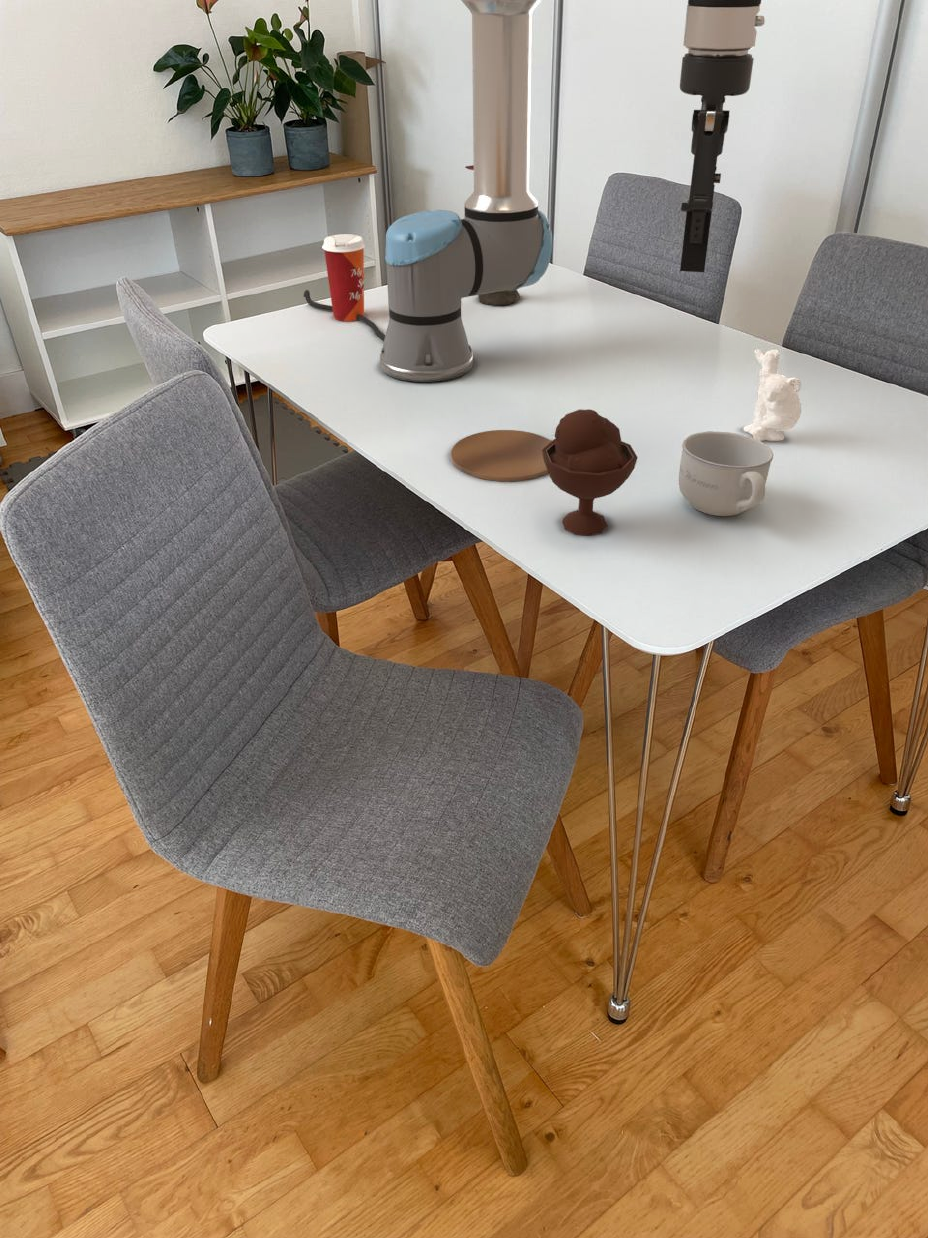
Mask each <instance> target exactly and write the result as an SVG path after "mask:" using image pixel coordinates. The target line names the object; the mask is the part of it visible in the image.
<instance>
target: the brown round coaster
mask: <svg viewBox="0 0 928 1238" xmlns="http://www.w3.org/2000/svg"><path fill="white" fill-rule="evenodd" d="M552 441H553V440H551V439H549V438H547V437H545V436H543V435H540V434H537V433H533V432H529V431H523V430H515V429H495V430H494V429H493V430H487V431H481V432H480V431H479V432H476V433H473V434H471V435H467V436H465V437H463V438H461V439H460V440H458V441H457V442H456V443H455V444H454V445H453V446H452V448H451V451H450V459H451V461H452V464H453V465H454V466H455V467H456V469H458V470H459V471H460V472H463V473H464V474H466V475H468V476H471V477H474V478H478V479H481V480H487V481H494V482H521V481H528V480H532V479H536V478H539V477H542V476H544V475H546V474H549V473H548V470H547V468H546V465H545V463H544V459H543V453H542V449H543V448H545V447H546V446H547V445H548V444H549V443H550V442H552Z"/></svg>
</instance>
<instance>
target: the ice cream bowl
mask: <svg viewBox="0 0 928 1238" xmlns="http://www.w3.org/2000/svg"><path fill="white" fill-rule="evenodd" d="M551 441H552V442H550V443H549V444H548V445H547V446H546V447H545V448H543V449H542V453H543V459H544V463H545V465H546V468H547V470H548V473H547V474H549V477H550V480H551V482H552V483H553V485H554V486H556V487H557V488H558V489H559V490H561V491H562V492H564V493H565V494H568V495H570V496H573V497H574V498H577V499H578V509H576V510H574V511H571V512H568V513H567V514H566V515H565V516H564V517H563V518H562V521H561V523H562V526H563V529H564V530H565V531H567V532H569V533H571V534H574V535H576V536H588V537H590V536H594V535H599V534H602V533H604V531H605V530H606V529H607V528H608V522H607V520H606V518H605V516H604V515H603V514H601V513H598V512H596V511H595V510H594V501H595V499H599V498H603V497H607V496H609V495H611V494H613V493H614V492H615V491H617V490H618V489H620V487H621V486H622V485H623V484H624V483H626V481H627V480H628V479H629V478H630V476H631V475H632V473H633V471H634V470H635V469H636V468H635V467H636V465H637V462H638V458H639V457H638V455H637V454H636V452H635V450H634V448H633V447H632V445H631V444H629V443H627V442H625V441H622V436H621V431H620V428H619V427H618V426H617V425H616V424H615V423H614V422H611V420H610V419H608V418H607V417H604V416H602V415H600V414H599V413H598V412H597V411H596V410H593V409H577V410H574V411H572V412H571V411H570V412H568V413H566V414H565V415H564V416H563V417H562V418H560V419H559V423H558V424H557V426H556V428H555V432H554V438H553V440H551Z"/></svg>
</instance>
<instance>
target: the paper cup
mask: <svg viewBox="0 0 928 1238" xmlns="http://www.w3.org/2000/svg"><path fill="white" fill-rule="evenodd" d="M323 239H324V240H323V244H322V245H321V248H322V249H323V250H324V251H323V252H324V258H325V259H324V260H325V265H326V273H327V279H328V286H329V287H328V288H329V293H330V300H331V306H332V308H333V311H332V314H333V319H334V320H336V321H339V322H355V321H359V320H358V319H357V318H356V316H357V315H358V314H360V315H362V316H364V317H365V257H364V253H365V252H364V249H365V247H366V244H365V243H364V239H363V237H362V236H360V235H357V234H351V233H343V234H342V233H341V234H334V235H328V236H326V237H325V238H323Z"/></svg>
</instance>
